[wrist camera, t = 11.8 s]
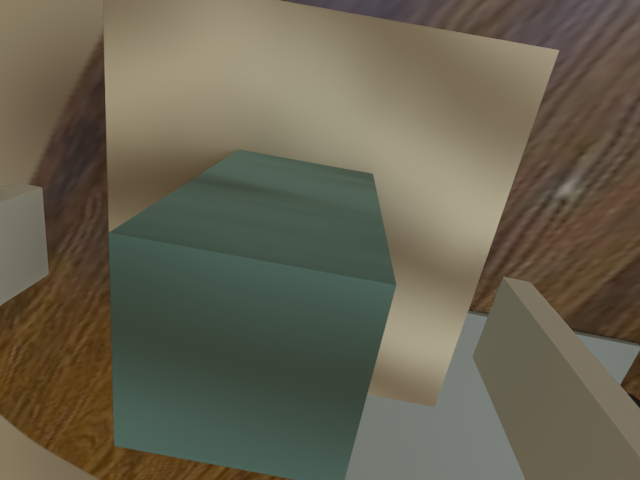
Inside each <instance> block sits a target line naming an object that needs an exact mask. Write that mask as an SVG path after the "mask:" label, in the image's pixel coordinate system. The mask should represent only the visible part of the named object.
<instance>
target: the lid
mask: <svg viewBox="0 0 640 480" xmlns="http://www.w3.org/2000/svg"><path fill="white" fill-rule="evenodd" d="M103 27H104V66H105V104H106V142H107V181H108V219H109V266H110V304H111V342H112V380H113V418H114V446H118V447H123V448H129V449H134V450H139V451H145V452H150V453H155V454H161V455H166V456H171V457H177V458H182V459H187V460H193V461H198V462H203V463H209V464H214V465H219V466H225V467H230V468H235V469H241V470H246V471H251V472H257V473H262V474H267V475H273V476H278V477H283V478H289V479H294V480H345V476H346V473H347V469H348V465H349V461H350V458H351V454H352V450H353V446H354V443H355V439H356V435H357V431H358V428H359V424H360V420H361V416H362V413H363V409H364V405H365V401H366V398H367V395H372V396H378V397H383V398H388V399H394V400H399V401H404V402H410V403H415V404H421V405H426V406H431V407H435V404H436V402H437V399H438V396H439V393H440V390H441V387H442V384H443V382H444V379H445V376H446V373H447V370H448V367H449V364H450V361H451V359H452V356H453V353H454V350H455V347H456V344H457V341H458V339H459V336H460V333H461V330H462V327H463V324H464V321H465V318H466V316H467V313H468V310H469V307H470V304H471V301H472V298H473V296H474V293H475V290H476V287H477V284H478V281H479V278H480V275H481V273H482V270H483V267H484V264H485V261H486V258H487V255H488V253H489V250H490V247H491V244H492V241H493V238H494V235H495V232H496V230H497V227H498V224H499V221H500V218H501V215H502V212H503V210H504V207H505V204H506V201H507V198H508V195H509V192H510V190H511V187H512V184H513V181H514V178H515V175H516V172H517V169H518V167H519V164H520V161H521V158H522V155H523V152H524V149H525V147H526V144H527V141H528V138H529V135H530V132H531V129H532V126H533V124H534V121H535V118H536V115H537V112H538V109H539V106H540V104H541V101H542V98H543V95H544V92H545V89H546V86H547V83H548V81H549V78H550V75H551V72H552V69H553V66H554V63H555V61H556V58H557V55H558V52H559V50H554V49H549V48H543V47H538V46H532V45H526V44H521V43H515V42H510V41H504V40H499V39H493V38H487V37H482V36H476V35H471V34H465V33H459V32H454V31H448V30H443V29H437V28H431V27H426V26H420V25H415V24H409V23H404V22H398V21H392V20H387V19H381V18H376V17H370V16H364V15H359V14H353V13H348V12H342V11H336V10H331V9H325V8H320V7H314V6H308V5H303V4H297V3H292V2H286V1H281V0H103Z"/></svg>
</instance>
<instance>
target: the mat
mask: <svg viewBox="0 0 640 480" xmlns="http://www.w3.org/2000/svg"><path fill="white" fill-rule="evenodd" d="M488 315H489V314H485V313H480V312H474V311H469V310H468V313H467V316H466V318H465V321H464V324H463V327H462V330H461V333H460V336H459V339H458V341H457V344H456V347H455V350H454V353H453V356H452V359H451V361H450V364H449V367H448V370H447V373H446V376H445V379H444V382H443V384H442V387H441V390H440V393H439V396H438V399H437V402H436V404H435V407H431V406H426V405H421V404H415V403H410V402H404V401H399V400H394V399H388V398H383V397H378V396H372V395H367V398H366V401H365V405H364V409H363V413H362V416H361V420H360V424H359V428H358V431H357V435H356V439H355V443H354V446H353V450H352V454H351V458H350V461H349V465H348V469H347V473H346V476H345V480H525V478H524V476H523V473H522V471H521V469H520V466H519V464H518V462H517V459H516V457H515V455H514V452H513V450H512V448H511V445H510V443H509V441H508V438H507V436H506V434H505V431H504V429H503V427H502V424H501V422H500V420H499V417H498V415H497V413H496V410H495V408H494V406H493V403H492V401H491V399H490V396H489V394H488V392H487V389H486V387H485V385H484V382H483V380H482V378H481V375H480V373H479V371H478V369H477V366H476V364H475V362H474V359H473V354H474V351H475V349H476V346H477V344H478V341H479V338H480V336H481V333H482V331H483V328H484V325H485V323H486V320H487V318H488ZM573 332H574V333H575V334H576V335H577V336H578V338H579V339H580V340H581V341H582V342H583V343H584V345H585V346H586V347H587V348H588V349H589V350H590V351H591V353H592V354H593V355H594V356H595V357H596V358H597V359H598V361H599V362H600V363H601V364H602V365H603V366H604V368H605V369H606V370H607V371H608V372H609V373H610V374H611V376H612V377H613V378H614V379H615V380H616V381H617V383H618V384H619V385H620V384H621V382H622V381H623V379H624V377H625V375H626V374H627V372H628V370H629V368H630V367H631V365H632V363H633V361H634V359H635V358H636V356H637V354H638V352H639V351H640V345H639V344H638V343H634V342H629V341H624V340H619V339H614V338H608V337H603V336H598V335H593V334H588V333H583V332H578V331H573Z"/></svg>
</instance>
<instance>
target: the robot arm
mask: <svg viewBox="0 0 640 480" xmlns="http://www.w3.org/2000/svg"><path fill="white" fill-rule="evenodd" d="M47 275H49V271H48V258H47V245H46V231H45V218H44V205H43V191H42V187H37V186H32V185H27V184H22V183H16V182H15V183H12V184H8V185H5V186H2V187H0V306H1V305H2V304H4V303H5V302H7V301H8V300H10V299H11V298H13V297H15V296H16V295H18V294H19V293H21V292H22V291H24V290H25V289H27V288H28V287H30V286H32V285H33V284H35V283H36V282H38V281H39V280H41V279H42V278H44V277H45V276H47ZM473 359H474V362H475V364H476V366H477V369H478V371H479V373H480V375H481V378H482V380H483V382H484V385H485V387H486V389H487V392H488V394H489V396H490V399H491V401H492V403H493V406H494V408H495V410H496V413H497V415H498V417H499V420H500V422H501V424H502V427H503V429H504V431H505V434H506V436H507V438H508V441H509V443H510V445H511V448H512V450H513V452H514V455H515V457H516V459H517V462H518V464H519V466H520V469H521V471H522V473H523V476H524V478H525V480H640V400H638V399H637V398H636V397H634V396H633V395H632V394H628V393H626V392H625V391H624V389H623V388H622V387H621V386H620V385H619V384H618V383H617V381H616V380H615V379H614V378H613V377H612V376H611V374H610V373H609V372H608V371H607V370H606V369H605V368H604V366H603V365H602V364H601V363H600V362H599V361H598V359H597V358H596V357H595V356H594V355H593V354H592V353H591V351H590V350H589V349H588V348H587V347H586V346H585V345H584V343H583V342H582V341H581V340H580V339H579V338H578V336H577V335H576V334H575V333H574V332H573V331H572V330H571V328H570V327H569V326H568V325H567V324H566V323H565V322H564V320H563V319H562V318H561V317H560V316H559V315H558V313H557V312H556V311H555V310H554V309H553V308H552V307H551V305H550V304H549V303H548V302H547V301H546V300H545V299H544V297H543V296H542V295H541V294H540V293H539V292H538V290H537V289H536V288H535V287H534V286H533V285H532V284H531V282H527V281H522V280H517V279H512V278H506V277H503V279H502V281H501V284H500V287H499V289H498V292H497V294H496V297H495V300H494V302H493V305H492V307H491V310H490V313H489V315H488V318H487V320H486V323H485V325H484V328H483V331H482V333H481V336H480V338H479V341H478V344H477V346H476V349H475V351H474V354H473Z"/></svg>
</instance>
